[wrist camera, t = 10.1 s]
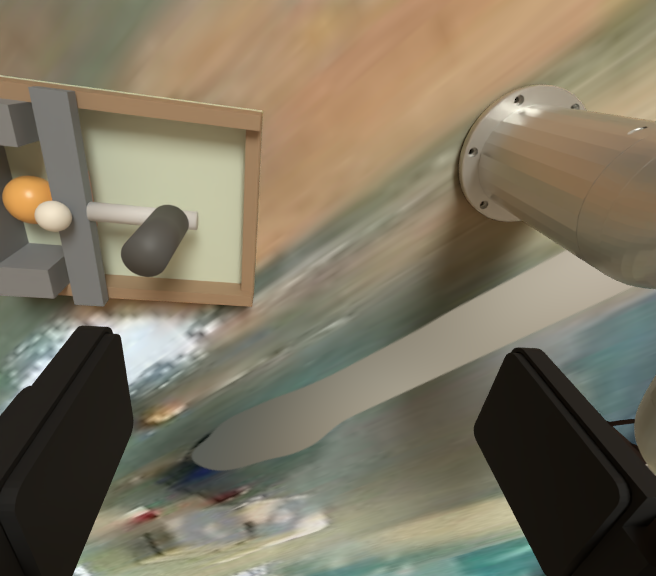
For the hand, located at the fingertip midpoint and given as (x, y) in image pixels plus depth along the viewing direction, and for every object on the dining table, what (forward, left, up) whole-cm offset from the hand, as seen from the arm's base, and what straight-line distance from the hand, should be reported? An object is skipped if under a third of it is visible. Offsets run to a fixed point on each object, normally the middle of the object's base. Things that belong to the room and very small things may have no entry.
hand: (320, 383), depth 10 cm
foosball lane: (+14, +6, -30) cm, 34 cm away
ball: (+22, +6, -27) cm, 35 cm away
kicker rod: (+14, +6, -29) cm, 33 cm away
